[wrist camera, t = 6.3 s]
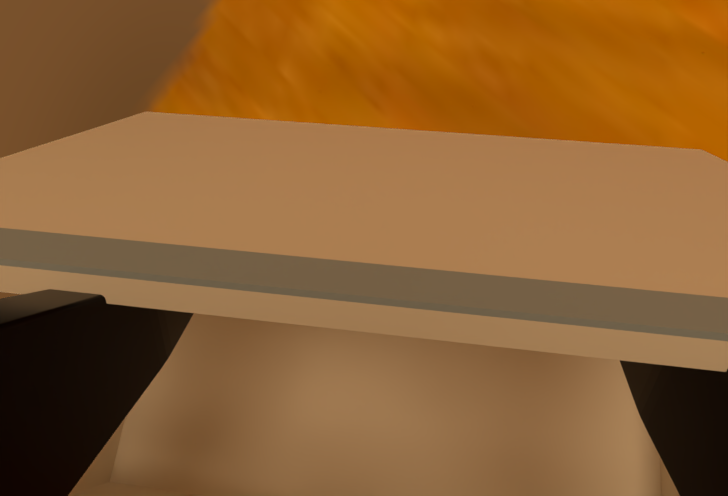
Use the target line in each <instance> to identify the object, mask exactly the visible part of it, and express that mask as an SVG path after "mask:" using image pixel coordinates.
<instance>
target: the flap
mask: <svg viewBox="0 0 728 496" xmlns="http://www.w3.org/2000/svg"><path fill="white" fill-rule="evenodd" d="M47 289H54V290H63V291H72V292H81V293H91V294H100V295H102V296H104V297H105V299H106V303H107V304H115V305H124V306H133V307H142V308H151V309H160V310H169V311H178V312H188V313H197V314H206V315H215V316H224V317H233V318H242V319H251V320H260V321H269V322H278V323H287V324H296V325H305V326H314V327H323V328H332V329H341V330H350V331H359V332H368V333H377V334H387V335H396V336H405V337H414V338H423V339H432V340H441V341H450V342H459V343H468V344H477V345H486V346H495V347H504V348H513V349H522V350H531V351H540V352H549V353H558V354H567V355H576V356H586V357H595V358H604V359H613V360H622V361H631V362H640V363H649V364H658V365H667V366H676V367H685V368H694V369H703V370H712V371H721V372H726V371H727V369H728V162H727V161H725V160H722V159H720V158H718V157H716V156H714V155H712V154H710V153H708V152H706V151H703V150H699V149H684V148H670V147H655V146H640V145H626V144H611V143H596V142H582V141H567V140H553V139H538V138H523V137H509V136H494V135H479V134H465V133H450V132H435V131H421V130H406V129H392V128H377V127H362V126H348V125H333V124H318V123H304V122H289V121H274V120H260V119H245V118H231V117H216V116H201V115H187V114H172V113H157V112H143V113H140V114H137V115H134V116H131V117H128V118H125V119H121V120H118V121H115V122H112V123H109V124H106V125H103V126H100V127H96V128H93V129H90V130H87V131H84V132H81V133H78V134H75V135H71V136H69V137H65V138H62V139H59V140H56V141H53V142H50V143H46V144H43V145H40V146H37V147H34V148H31V149H28V150H25V151H21V152H18V153H15V154H12V155H9V156H6V157H3V158H0V292H7V293H16V294H27V293H32V292H37V291H42V290H47Z"/></svg>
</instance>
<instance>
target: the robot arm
mask: <svg viewBox="0 0 728 496" xmlns="http://www.w3.org/2000/svg"><path fill="white" fill-rule="evenodd" d="M193 314H194V313H188V312H178V311H169V310H160V309H151V308H142V307H133V306H124V305H115V304H107V303H106V299H105V297H104V296H102V295H100V294H91V293H81V292H72V291H63V290H54V289H47V290H42V291H37V292H32V293H27V294H22V295H17V296H12V297H7V298H2V299H0V496H68V495H69V494H70V492H71V491H72V490H73V488H74V487H75V486H76V484H77V483H78V482H79V480H80V479H81V477H82V476H83V475H84V473H85V472H86V471H87V469H88V468H89V467H90V465H91V464H92V462H93V461H94V460H95V458H96V457H97V456H98V454H99V453H100V452H101V450H102V449H103V447H104V446H105V445H106V443H107V442H108V441H109V439H110V438H111V437H112V435H113V434H114V432H115V431H116V430H117V428H118V427H119V426H120V424H121V423H122V422H123V420H124V419H125V417H126V416H127V415H128V413H129V412H130V411H131V409H132V408H133V407H134V405H135V404H136V402H137V401H138V400H139V398H140V397H141V396H142V394H143V393H144V392H145V390H146V389H147V387H148V386H149V385H150V383H151V382H152V381H153V379H154V378H155V377H156V375H157V374H158V372H159V371H160V370H161V368H162V367H163V365H164V364H165V363H166V361H167V360H168V358H169V356H170V355H171V353H172V351H173V350H174V348H175V346H176V344H177V343H178V341H179V339H180V337H181V335H182V334H183V332H184V330H185V328H186V327H187V325H188V323H189V321H190V319H191V318H192V316H193ZM620 363H621V366H622V369H623V372H624V374H625V377H626V380H627V383H628V385H629V388H630V391H631V394H632V397H633V399H634V402H635V405H636V408H637V410H638V412H639V415H640V417H641V419H642V421H643V424H644V426H645V428H646V430H647V432H648V434H649V436H650V438H651V440H652V442H653V444H654V446H655V448H656V450H657V452H658V453H659V455H660V457H661V459H662V461H663V463H664V465H665V467H666V469H667V471H668V473H669V475H670V477H671V479H672V481H673V483H674V485H675V487H676V489H677V491H678V493H679V495H680V496H728V369H727V371H726V372H721V371H712V370H703V369H694V368H685V367H676V366H667V365H658V364H649V363H640V362H631V361H622V360H620Z"/></svg>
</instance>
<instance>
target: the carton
mask: <svg viewBox="0 0 728 496" xmlns="http://www.w3.org/2000/svg"><path fill="white" fill-rule="evenodd" d="M68 496H680V495H679V493H678V491H677V489H676V487H675V485H674V483H673V481H672V479H671V477H670V475H669V473H668V471H667V469H666V467H665V465H664V463H663V461H662V459H661V457H660V455H659V453H658V452H657V450H656V448H655V446H654V444H653V442H652V440H651V438H650V436H649V434H648V432H647V430H646V428H645V426H644V424H643V421H642V419H641V417H640V415H639V412H638V410H637V408H636V405H635V402H634V399H633V397H632V394H631V391H630V388H629V385H628V383H627V380H626V377H625V374H624V372H623V369H622V366H621V363H620V360H613V359H604V358H595V357H586V356H576V355H567V354H558V353H549V352H540V351H531V350H522V349H513V348H504V347H495V346H486V345H477V344H468V343H459V342H450V341H441V340H432V339H423V338H414V337H405V336H396V335H387V334H377V333H368V332H359V331H350V330H341V329H332V328H323V327H314V326H305V325H296V324H287V323H278V322H269V321H260V320H251V319H242V318H233V317H224V316H215V315H206V314H197V313H194V314H193V316H192V318H191V319H190V321H189V323H188V325H187V327H186V328H185V330H184V332H183V334H182V335H181V337H180V339H179V341H178V343H177V344H176V346H175V348H174V350H173V351H172V353H171V355H170V356H169V358H168V360H167V361H166V363H165V364H164V365H163V367H162V368H161V370H160V371H159V372H158V374H157V375H156V377H155V378H154V379H153V381H152V382H151V383H150V385H149V386H148V387H147V389H146V390H145V392H144V393H143V394H142V396H141V397H140V398H139V400H138V401H137V402H136V404H135V405H134V407H133V408H132V409H131V411H130V412H129V413H128V415H127V416H126V417H125V419H124V420H123V422H122V423H121V424H120V426H119V427H118V428H117V430H116V431H115V432H114V434H113V435H112V437H111V438H110V439H109V441H108V442H107V443H106V445H105V446H104V447H103V449H102V450H101V452H100V453H99V454H98V456H97V457H96V458H95V460H94V461H93V462H92V464H91V465H90V467H89V468H88V469H87V471H86V472H85V473H84V475H83V476H82V477H81V479H80V480H79V482H78V483H77V484H76V486H75V487H74V488H73V490H72V491H71V492H70V494H69V495H68Z"/></svg>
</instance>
